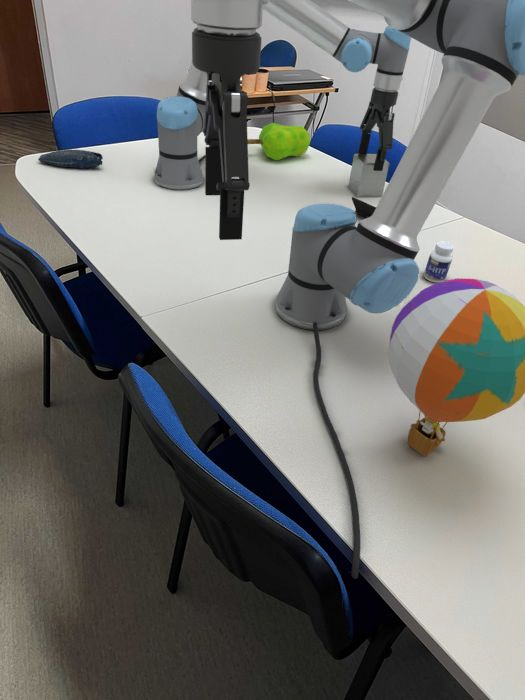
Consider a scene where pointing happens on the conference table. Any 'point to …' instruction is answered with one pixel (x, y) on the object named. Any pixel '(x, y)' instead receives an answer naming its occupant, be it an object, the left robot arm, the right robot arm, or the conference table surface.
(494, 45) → the right robot arm
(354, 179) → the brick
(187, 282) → the conference table surface
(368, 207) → the handheld gaming console
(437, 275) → the pill bottle
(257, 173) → the conference table surface
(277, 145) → the decorative tree
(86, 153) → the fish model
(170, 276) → the conference table surface
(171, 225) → the conference table surface
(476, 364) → the toy
